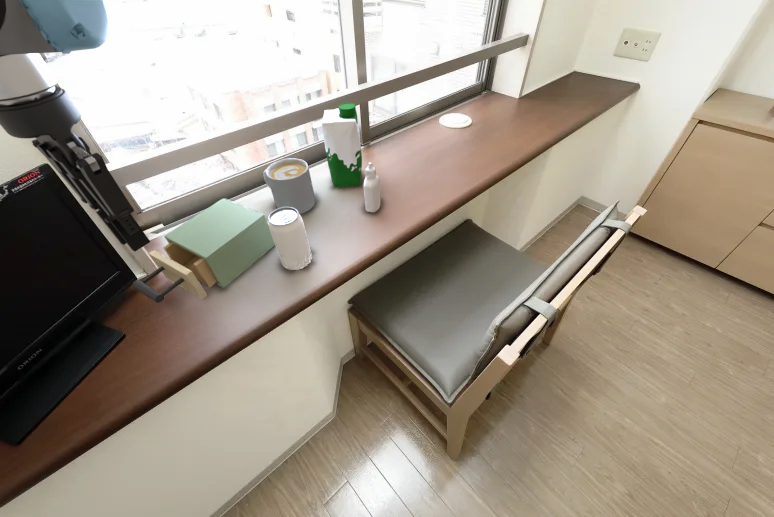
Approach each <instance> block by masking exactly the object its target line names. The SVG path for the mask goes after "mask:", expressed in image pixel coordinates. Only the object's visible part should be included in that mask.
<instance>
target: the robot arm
mask: <svg viewBox="0 0 774 517" xmlns="http://www.w3.org/2000/svg"><path fill="white" fill-rule="evenodd" d="M109 32H110V19H109V13H108V9H107V7H106V5H105V1H104V0H0V126H1V128H2V129H3V130H4V132H6V133H7V134H8V135H9V136H11V137H13V138H16V139H33V140H31V144H32V146H33V147H34V148H36V149H37V150H38V151H39V152H40V153H41V154H42V155H43V156H44V157H45V158H46V160H47V161H48V162H49V163H50V165H51V166H52V167H53V168H54V169H55V170H56V172H58V174H59V175H60V176H61V178H63V180H64V181H65V182H66V183H67V185H68V186H69V187H70V188H71V189H72V190H73V192H74V193H75V194H76V195H77V196H78V197H79V199H80V200H81V202H83V203H85V204H88V205H89V207H90V209H92V210H94V211H96V212H95V213H96V214H97V216H98V217H99V218H100V219H101V220H102V222H103V224H105V226H106V227H107V228H108V229H109V230H110V232H111V233H112V234H113V235H114V237H115V238H116V239H117V240H118V242H119V243H120V244H121V245H123V246H125V245H127V246H128V247H129V248H130V249H131V251H133V252H137V251H138V250H141V249H142V248H143V247H146V246H147V245H148V244H149V243H151V241H150V239H149V238H148V236H147V235H146V233H145V232H144V231H143V229H142V227H141V226H140V224H138V222H137V221H136V219H135V218H134V216H133V215H132V213H134V212H135V209H134V207H133V206H132V205H131V203H130V201H129V200H128V199H127V197H126V196H125V193H123V190H121V187H120V186H119V184H118V183H117V182H116V180H115V178H114V177H113V175H112V173H111V172H110V170H109V169H108V167H107V165H106V163H105V160H104V157H103V156H102V155H101V154H100V153H99V152H95V153H92V152H91V148H90V146H89V145H88V143H87V142H86V141H85V139H83V137H81V136H77V135H76V134H75V133H74V132H73V130H72V128H73V127H74V126H75V125H76V124H78V123H79V122H80V120H81V116H82V114H81V112H80V111H79V110H78V108H77V106H76V105H75V104H74V102H73V101H72V99H71V98H70V95H68V93H67V91H66V90H65V89H64V88H62V87H60V86H57V83H58V79H57V78H56V76H55V75H54V73H53V72H52V70H51V69H50V66H49V65H48V64H47V63H46V62H47V61H49V58H48V56H47V54H51V53H52V54H53V53H54V54H55V53H62V54H63V55H69V54H70V53H71V52H76V51H84V50H85V51H86V50H92V49H98V48H100V47H101V46H102V45H103V44H104V43H105V42H106V41H107V39H108V36H109Z"/></svg>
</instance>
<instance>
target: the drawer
mask: <svg viewBox="0 0 774 517" xmlns="http://www.w3.org/2000/svg"><path fill="white" fill-rule="evenodd" d="M162 248H163V250H164V251H165V253H166V254H167V256H166V255H165V254H162V253H161V252H160V251H158V250H155V249H153V250H151V251H150V252H148V253H147V254H148V256H149V257H150V258H151V259H152V261H153V262H154V263H155V264H156V266H157V267H158V268H156V269H155V270H154V271H152V272H151V273H150V274H148V275H147V276H146V277H144V278H143V279H141V280H140V279H137V280H134V281H133V282H132V284H131V285H132V287H133V289H135V290H136V291H138V292H140V293H141V294H143V295H144V296H146V297H147V298H149V299H150V300H151V301H153V302H154V303H156V304H159V303H160V304H161V303H162V302H163V301H164V300H165V297H166V295H168V294H169V293H170V292H172V291H173V290H175V289H176V288H177V287H178V286H179V287H182V289H184V290H186V291H188V292H189V293H191V294H193V295H195V296H196V297H198V298H200V299H201V300H203V299H204V298H205V297H206V296H207V295H208V294H207V292H206V291H205V289H204V288H203V286H202V285H201V284H203V285H204V286H206V287H207V288H210V289H211V287H213V286H214V285H216V284H215V283H216V282H218V281H217V279H216V278H215V276H214V274H213V273H212V271H211V269H210V267H209V266H208V264H207V262H206V261H205V259H203V258H201V257H199V256H197V255H195V254H194V253H192V252H190V251H188V250H186V249H184V248H182V247H180V246H178V245H176V244H175V243H173V242H171V243H167V244H166V245H165V246H163V247H162ZM160 273H162V274H163V276H164V277H165V278H166V279H167V280H169V281H171V282H173V283H172V284H170V286H168V287H167V288H165V289H164V290H162V291H160V292H159V291H158V290H156V289H155V288H153V287H152V286H150V285H148V284H147V282H149V281H150V280H152V279H153V278H155V277H156V276H157V275H159V274H160Z"/></svg>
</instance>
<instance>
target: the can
mask: <svg viewBox="0 0 774 517" xmlns="http://www.w3.org/2000/svg"><path fill="white" fill-rule="evenodd" d="M267 219H268V226H269V229H270V232H271V235H272V238H273V241H274V243H275V246H274V247H275V249H276V252H277V255H278V257H279V259H280V260H279V261H280V262H281V265H282V266H283V267H284V268H285V269H287V270H290V271H300V270H303V269H305V268H306V267H308V266H309V264H310V263H311V262H312V259H313V254H312V250H311V246H310V242H309V239H308V235H307V231H306V227H305V223H304V221H303V220H304V219H303V217H302V216H301V214H298V211H297V210H296V209H295V208H292V207H282V208H279V209H277V208H276V209H274V210H273V211H271V212H270V213H269V215H268V218H267Z"/></svg>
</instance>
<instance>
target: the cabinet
mask: <svg viewBox="0 0 774 517" xmlns="http://www.w3.org/2000/svg"><path fill="white" fill-rule="evenodd" d="M163 237H164V238H165V240H166V242H167V244H169V243H171V242H173V243H175V244H176V245H178V246H180V247H182V248H184V249H186V250H188V251H190V252H192V253H194V254H195V255H197V256H199V257H201V258H203V259H205V261H206V262H207V264H208V266H209V267H210V269H211V271H212V273H213V274H214V276H215V278H216V279H217V281H218V282H216V283H215V284H214V285H217V286H218V287H221V288H222V289H225V288H226V287H227V286H228V285H229V284H231V283H232V282H233V281H234V280H235V279H237V278H238V277H240V275H241V274H242V273H244V272H245V271H247V270H248V268H250V267H251V266H252V265H253V264H254V263H256V262H257V261H258V260H259V259H261V258H262V257H263V256H264V255H265V254H266V253H267V252H269V251H270V250H271V249H272V248H273V247H276V246H275V243H274V241H273V238H272V235H271V232H270V229H269V222H268V221H267V218H266V214H265V213H262V212H259V211H257V210H254V209H252V208H249V207H247V206H244V205H242V204H239V203H237V202H234V201H232V200H229V199H228V198H224V197H223V198H221V199H220V200H218V201H216V202H215V203H214V204H212V205H210V206H209V207H207V208H205V209H204V210H202V211H201V212H199V213H197V214H196V215H195V216H193V217H191V218H190V219H188V220H187V221H185V222H183V223H182V224H181V225H179V226H177V227H176V228H174V229H172V230H171V231H169V232H168V233H167V234H165V235H164V236H163Z"/></svg>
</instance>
